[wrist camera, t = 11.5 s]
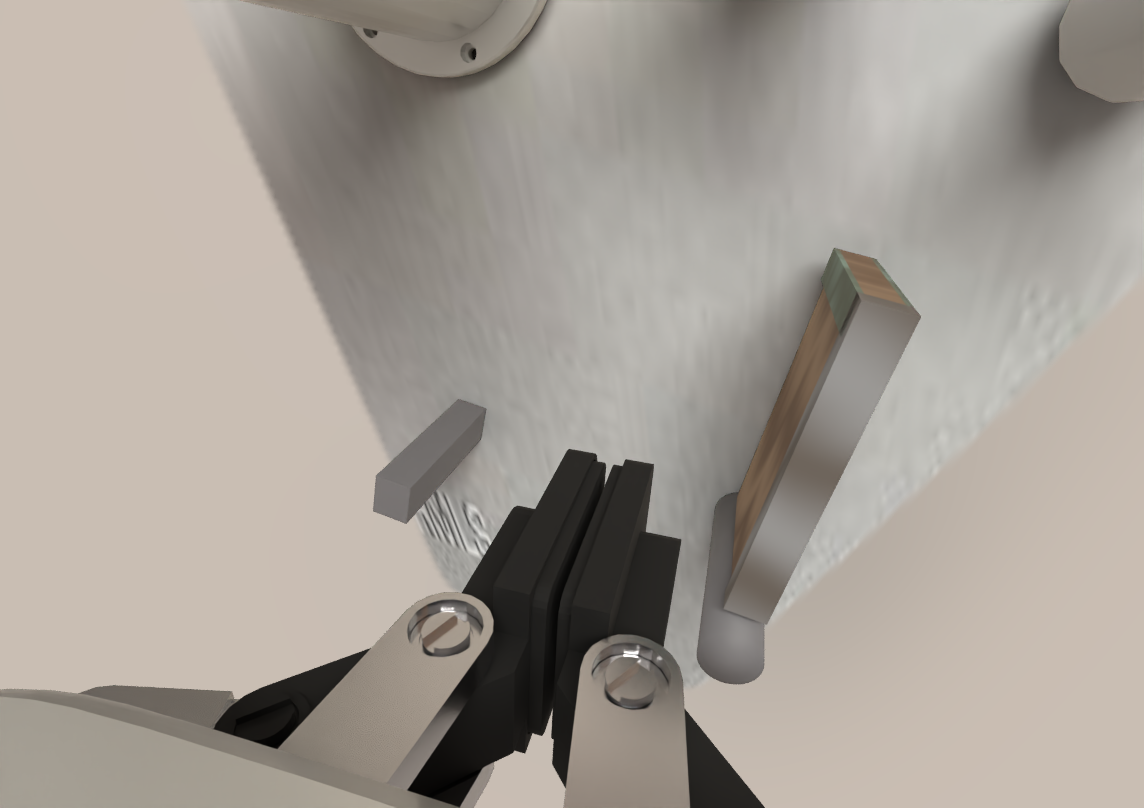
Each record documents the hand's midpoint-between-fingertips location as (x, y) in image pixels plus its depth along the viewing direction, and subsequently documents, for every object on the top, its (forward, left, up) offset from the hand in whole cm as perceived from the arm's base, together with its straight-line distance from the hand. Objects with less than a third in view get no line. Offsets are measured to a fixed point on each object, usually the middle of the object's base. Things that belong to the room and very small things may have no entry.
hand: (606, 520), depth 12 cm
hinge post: (+7, -14, -24) cm, 29 cm away
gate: (+7, -5, -23) cm, 24 cm away
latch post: (-12, -14, -24) cm, 30 cm away
